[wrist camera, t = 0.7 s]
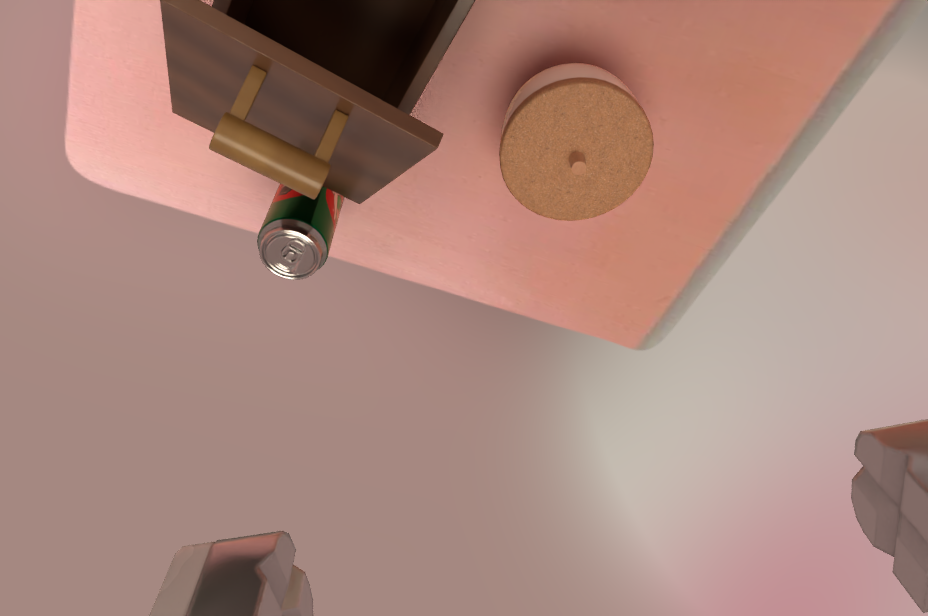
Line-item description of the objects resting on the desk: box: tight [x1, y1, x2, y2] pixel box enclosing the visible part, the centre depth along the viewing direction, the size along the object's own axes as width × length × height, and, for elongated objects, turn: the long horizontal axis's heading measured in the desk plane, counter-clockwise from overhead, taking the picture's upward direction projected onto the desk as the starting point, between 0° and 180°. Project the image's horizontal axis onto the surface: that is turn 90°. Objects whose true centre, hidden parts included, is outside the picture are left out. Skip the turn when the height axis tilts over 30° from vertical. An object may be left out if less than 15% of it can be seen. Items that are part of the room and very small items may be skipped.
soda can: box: [257, 183, 344, 280], centre depth 55 cm, size 5×5×12 cm
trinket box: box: [499, 63, 654, 221], centre depth 53 cm, size 11×11×9 cm
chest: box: [212, 0, 475, 115], centre depth 47 cm, size 16×13×11 cm
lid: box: [160, 0, 443, 204], centre depth 38 cm, size 17×13×5 cm
